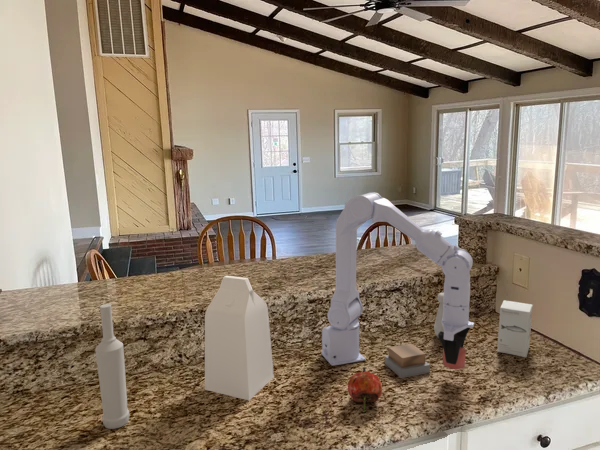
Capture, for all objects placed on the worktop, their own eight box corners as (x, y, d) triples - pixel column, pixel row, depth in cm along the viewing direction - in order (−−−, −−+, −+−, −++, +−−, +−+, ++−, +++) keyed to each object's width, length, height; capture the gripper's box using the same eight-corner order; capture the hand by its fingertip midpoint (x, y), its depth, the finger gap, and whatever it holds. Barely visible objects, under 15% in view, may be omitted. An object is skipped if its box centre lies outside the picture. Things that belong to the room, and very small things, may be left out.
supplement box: (496, 352, 122) (498, 307, 120) (500, 342, 128) (503, 299, 126) (527, 358, 118) (530, 312, 116) (530, 347, 125) (533, 303, 122)
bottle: (107, 415, 96) (96, 302, 92) (132, 413, 97) (123, 300, 93) (99, 430, 91) (87, 310, 87) (125, 428, 92) (114, 309, 88)
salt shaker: (455, 341, 129) (457, 297, 127) (434, 340, 131) (435, 296, 128) (453, 333, 135) (454, 291, 133) (432, 332, 136) (434, 290, 134)
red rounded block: (451, 370, 105) (451, 355, 104) (438, 361, 109) (438, 346, 109) (469, 367, 106) (470, 352, 105) (455, 357, 111) (456, 343, 110)
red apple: (383, 420, 96) (387, 376, 103) (376, 406, 92) (380, 360, 98) (349, 418, 99) (354, 374, 106) (341, 403, 94) (347, 359, 101)
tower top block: (402, 367, 110) (402, 358, 110) (388, 356, 116) (388, 347, 116) (425, 363, 113) (425, 353, 112) (410, 352, 119) (410, 343, 118)
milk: (273, 377, 111) (270, 273, 107) (249, 400, 101) (244, 287, 97) (232, 367, 116) (227, 268, 112) (204, 389, 106) (198, 281, 102)
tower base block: (401, 379, 110) (401, 370, 109) (384, 365, 117) (384, 356, 117) (429, 374, 112) (430, 364, 112) (412, 360, 120) (412, 351, 119)
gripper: (468, 315, 97) (465, 375, 99) (479, 296, 109) (477, 349, 112) (435, 310, 100) (433, 368, 103) (449, 292, 113) (447, 344, 115)
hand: (453, 358), depth 107 cm, fingers closed on red rounded block, 5 cm apart
